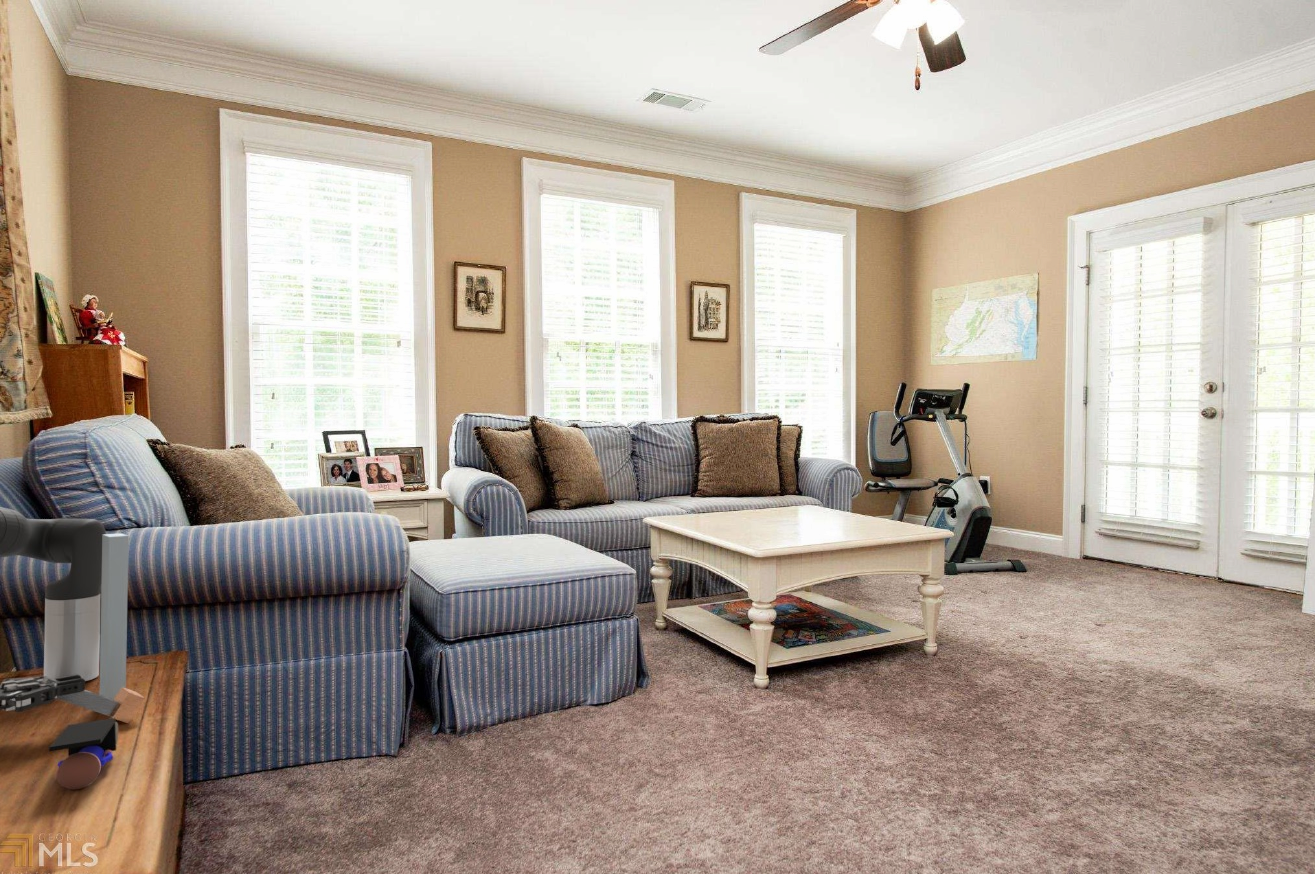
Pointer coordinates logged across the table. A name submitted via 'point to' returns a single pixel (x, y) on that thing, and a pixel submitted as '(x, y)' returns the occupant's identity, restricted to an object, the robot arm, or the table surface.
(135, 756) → the table surface
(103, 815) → the table surface
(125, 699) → the grey handled tool
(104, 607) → the post
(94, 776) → the figurine character
